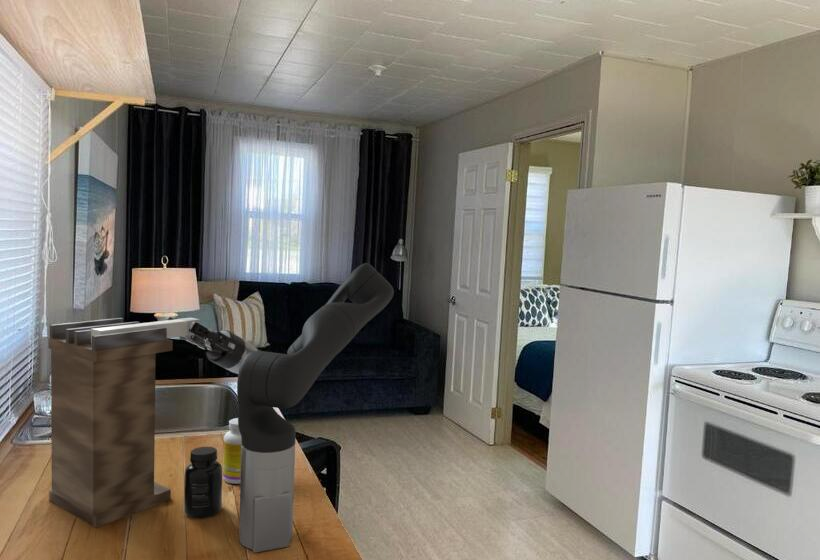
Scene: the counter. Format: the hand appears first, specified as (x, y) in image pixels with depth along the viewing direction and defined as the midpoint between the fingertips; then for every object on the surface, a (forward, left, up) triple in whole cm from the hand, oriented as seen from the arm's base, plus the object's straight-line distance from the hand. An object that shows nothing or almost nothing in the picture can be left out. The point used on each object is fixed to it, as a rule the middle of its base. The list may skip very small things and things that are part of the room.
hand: (178, 323), depth 124 cm
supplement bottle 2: (0, -13, -35) cm, 37 cm away
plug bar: (-3, +6, -2) cm, 7 cm away
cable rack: (-2, +12, -34) cm, 37 cm away
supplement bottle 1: (-13, -4, -35) cm, 37 cm away
